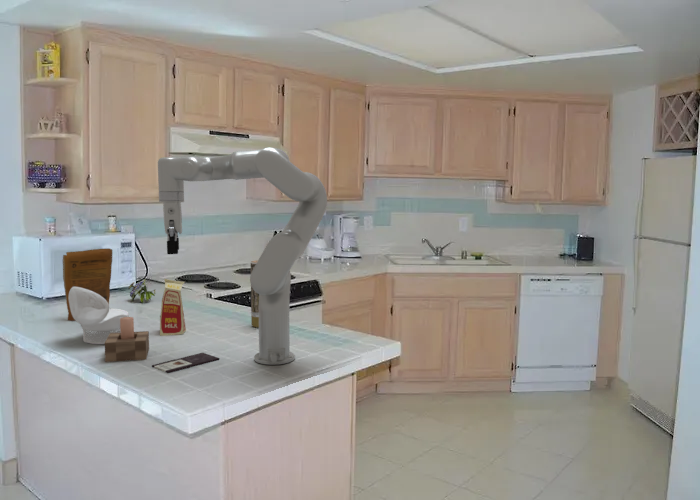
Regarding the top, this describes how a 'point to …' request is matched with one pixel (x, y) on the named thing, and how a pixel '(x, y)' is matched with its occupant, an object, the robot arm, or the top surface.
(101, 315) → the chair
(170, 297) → the milk carton
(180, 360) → the chocolate bar
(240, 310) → the top surface
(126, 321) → the peg
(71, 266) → the pancake mix bag
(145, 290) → the passion flower
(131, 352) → the socket block
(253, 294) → the paper tube
